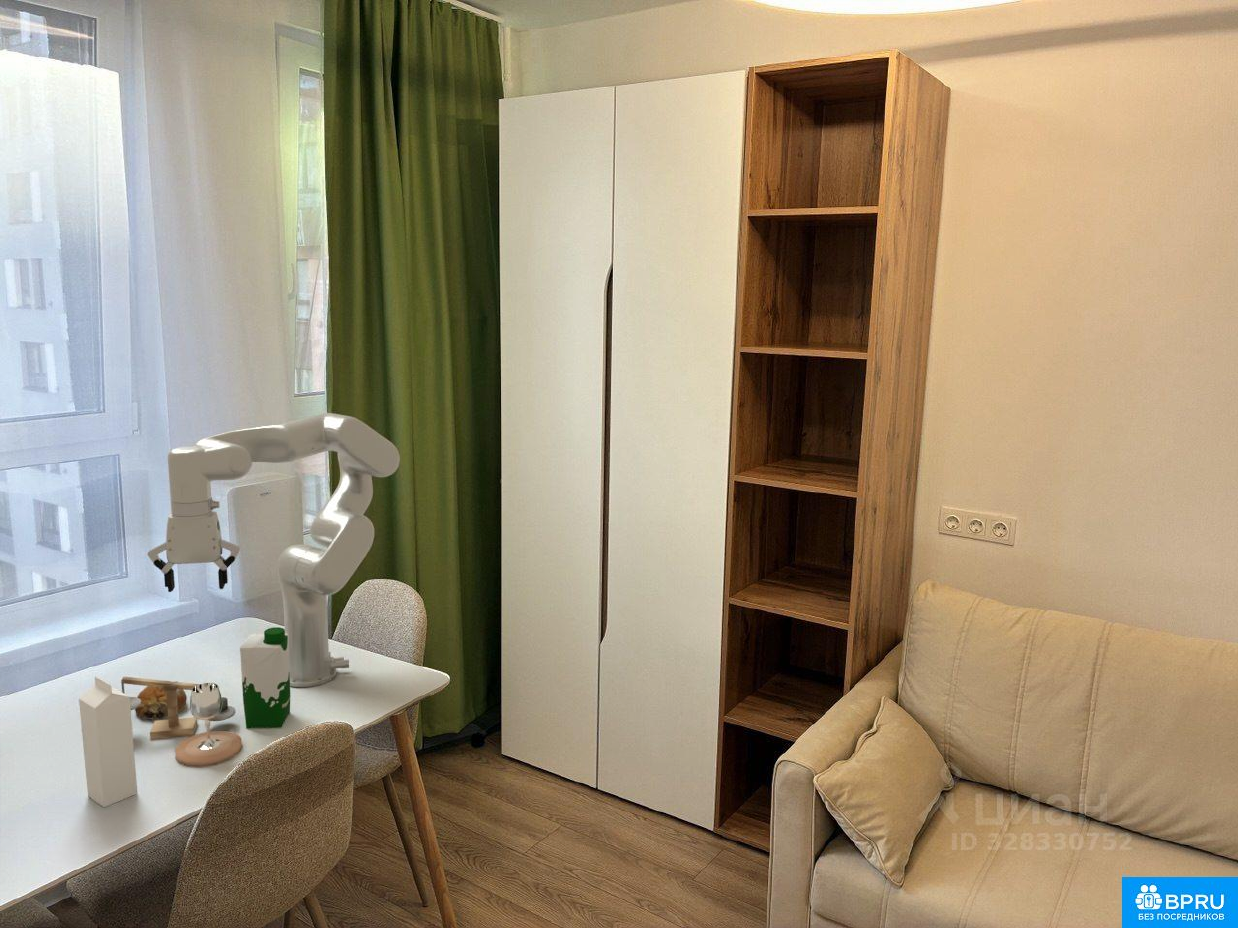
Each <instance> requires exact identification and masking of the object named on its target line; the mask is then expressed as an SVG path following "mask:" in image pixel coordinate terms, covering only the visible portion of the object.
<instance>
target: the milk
mask: <svg viewBox="0 0 1238 928" xmlns="http://www.w3.org/2000/svg"><path fill="white" fill-rule="evenodd" d="M124 693H125V692H124ZM124 693H122V691H120V690H119V689H117V688H115V687H113V686H112V685H111V684H110V683H108V682H106V681H105V680H104V679H101V678H100V677H98V676H95V677H94V685H92V686H91V687H90V688H89V689H88V690H87V691H86V692H85V693H83V694H82V695H81V696H80V697H78V702H79V714H80V723H81V724H80V725H81V735H82V745H83V755H84V768H85V778H86V787H87V788H86V789H87V796H88V798H90V799H92V800H93V801H94V802H95V803H97V804H98V805H100V806H101V807H102V808H107V807H109V806H111V805H114V804H115V803H118V802H120V801H123V800H125V799H127V798H130V797H133V796H134V795H137V794H138V785H137V783H138V782H137V772H136V769H137V768H136V758H135V745H134V736H133V735H134V734H133V733H134V732H133V721H132V710H131V708H130V697H131V696H129V695H128V694H124Z"/></svg>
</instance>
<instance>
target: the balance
mask: <svg viewBox="0 0 1238 928" xmlns="http://www.w3.org/2000/svg"><path fill="white" fill-rule="evenodd" d="M120 683H121V692H122V693H124V694H125V684H126V685H133V686H134V685H136V686H145V687H147V686H154V687H164V691H166V695H167V709H168V717H167V719H161V720H160V719H157V720H154V722H153V724H152V727H151V729H150V731H149V740H156V739H167V738H176V737H177V738H178V737H185V736H186V737H188V736H189V737H190V736H194V735H195V733H196V728H197V726H198V719H197V718H195V717H194V716H193V717H182V718H179V713H178V704H177V689H183V690H184V691H186V690H187V691H192V689H193V688H194V687H195V686H197V685H199V683H193V682H192V683H190V682H179V681H172V680H159V679H151V678H141V677H130V676H122V678H121V681H120ZM218 687H219V688H220V686H219V685H218ZM129 697H130V708H131V711H135V709H136V708H138V707H139V706H140V705H141V700H140V699H139V698H137V697H138V696H129ZM221 697H222V709H221V711H220V713H219V714H218V715H217V716H215V717H214V718H212V719H209V720H210V722H221V721H225V720H226V721H227V720H228V719H231V718H233V717H234V716H235V714H236V708H235V707H233V706H232V705H229V703H228V698H227V697H223V696H221Z"/></svg>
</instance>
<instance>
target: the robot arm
mask: <svg viewBox="0 0 1238 928" xmlns="http://www.w3.org/2000/svg"><path fill="white" fill-rule="evenodd" d="M330 451H331V452H335V453H337V460H338V466H339V472H340V473H339V474H340V475H339V482H338V485H337V487H336V489H335V490H334V492H333V494H331V496H330V497H329V499H328V500H327V502H326V503H325V504H324V506H323V507H322V508H321V509H320V511H319V512H318V514H317V515H316V516H315V517H314V519H313V522H312V523H311V526H310V528H309V535H310V537H311V539H312V540H313V542H315V543H316V544H318V545H319V546H322V547H324V548H326V549H325V550H324V549H322V548H319V547H314V546H312V545H310V544H308V545H307V544H302V543H300V544H299V543H298V544H293V545H290V546H288V547H286V548H285V549H284V550H283V551H282V552H281V554H280V555H279V557H278V560H277V577H278V580H279V581H278V582H279V584H280V588H281V595H282V603H283V604H282V605H283V621H284V622H283V623H284V625H283V628H284V630H285V634H289V672H290V687H293V688H295V687H296V688H307V687H315V686H319V685H322V684H325V683H328V682H329V681H331V680H333V679H334V678H335V677H336V676H337V669H348V668H350V659H345V656H339V657H334V656H332V653H331V651H330V650H329V648H330V647H329V622H328V621H329V620H328V617H329V616H328V599H327V596H331V595H334V594H336V593H338V592H339V591H340V590H342V589H343V588H344V587H345V586H346V585H347V583H348V582H349V580H350V579H351V577H352V576H353V575H354V574H355V572H356V570H357V569H358V567H359V566H360V564H361V563H362V562H363V560H364V558H366V556H367V554H368V553H369V552H370V550H371V548H372V546H373V543H374V539H375V527H374V523H373V522H372V521H371V519H369V517H367V516H366V515H364V514H365V513H366V510H368V507H370V504H371V502H372V499H373V496H374V495H373V494H374V487H373V486H374V485H373V479H372V478H373V477H375V478H376V477H377V478H386V477H389V476H391V475H393V474H394V473H395V472H396V471H397V469H398V468H399V465H400V461H401V458H400V457H401V456H400V452H399V450H398V449H397V447H396V446H395V445H394V444H393V442H391V441H390V440H388V439H387V438H386V437H385V436H383V435H381V434H380V433H378V432H377V430H375V429H373V428H372V427H370V426H369V425H368V424H367V423H365V422H363V421H362V420H360V419H358V418H356V417H354V416H350V415H343V414H338V413H333V412H327V413H326V412H324V413H319V414H316V415H311V416H308V417H304V418H300V419H295V420H291V421H288V422H284V423H280V424H275V425H266V426H260V427H253V428H243V429H237V430H233V431H232V430H231V431H227V432H223V433H220V434H218V433H217V434H215V435H212V436H208V437H204V438H202V439H200V440H198V441H197V442H195V444H194V445H193V446H178V447H176V448H173V449H171V450H169V452H168V454H167V465H168V466H167V467H168V479H169V480H168V482H169V492H170V493H169V495H170V498H169V499H170V508H171V509H170V511H171V513H169V514H168V517H167V523H166V535H165V537H166V539H165V542H163V543H161V544H160V545H158V546H156V547H154V548H152V549H150V550H149V551H148V552H147V556H148V557H149V559H150V560H151V562H152V563H153V566H155V567H156V568H157V569H159V570H160V571H161V572H162V574H163V576H164V577H163V579H164V587H165V588H167V591H168V593H172V592H173V591H174V589H175V587H176V586H175V582H176V581H175V572H174V569H173V567H174V566H175V565H186V564H191V565H192V564H205V563H207V564H209V563H214V564H215V565H216V566H217V567H218V568H219V569H218V572H217V576H218V589H220V590H224V588H225V584H226V585H228V582H229V580H228V568H229V567H230V566H231V565H232V564H233V563H234V562H235V560H236V558H237V557H238V554H239V552H240V551H241V547H240V546H239V545H236V544H234V543H232V542H229V541H228V540H227V541H226V540H225V539H223V538H222V532H221V524H220V520H219V516H218V512H217V511H215V509H219V508H220V501H216V500H214V499H213V497H212V486H211V484H212V483H211V482H214V481H233V480H234V481H235V480H238V479H242V478H243V477H244V476H246V475H247V474H248V473H249V472H250V471H251V468H252V466H253V463H271V464H272V463H273V464H279V463H280V464H283V463H284V464H285V463H291V462H294V461H297V460H301V459H304V458H309V457H311V456H315V455H318V454H322V453H325V452H330ZM223 549H224V550H227V551H229V552H230V555H228V557H227V558H225V557H223ZM163 552H166V560H167V561H166V562H165V561H164V560H163V559H161V558H160V557H159V554H161V553H163Z"/></svg>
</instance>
